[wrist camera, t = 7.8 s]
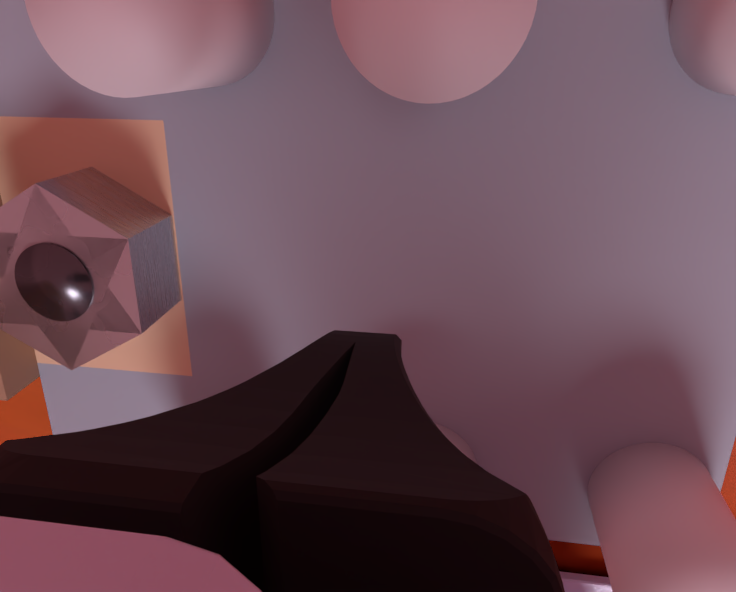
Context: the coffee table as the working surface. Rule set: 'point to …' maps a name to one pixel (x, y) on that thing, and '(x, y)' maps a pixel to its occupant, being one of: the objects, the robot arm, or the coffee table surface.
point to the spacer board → (426, 228)
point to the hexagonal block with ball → (84, 266)
